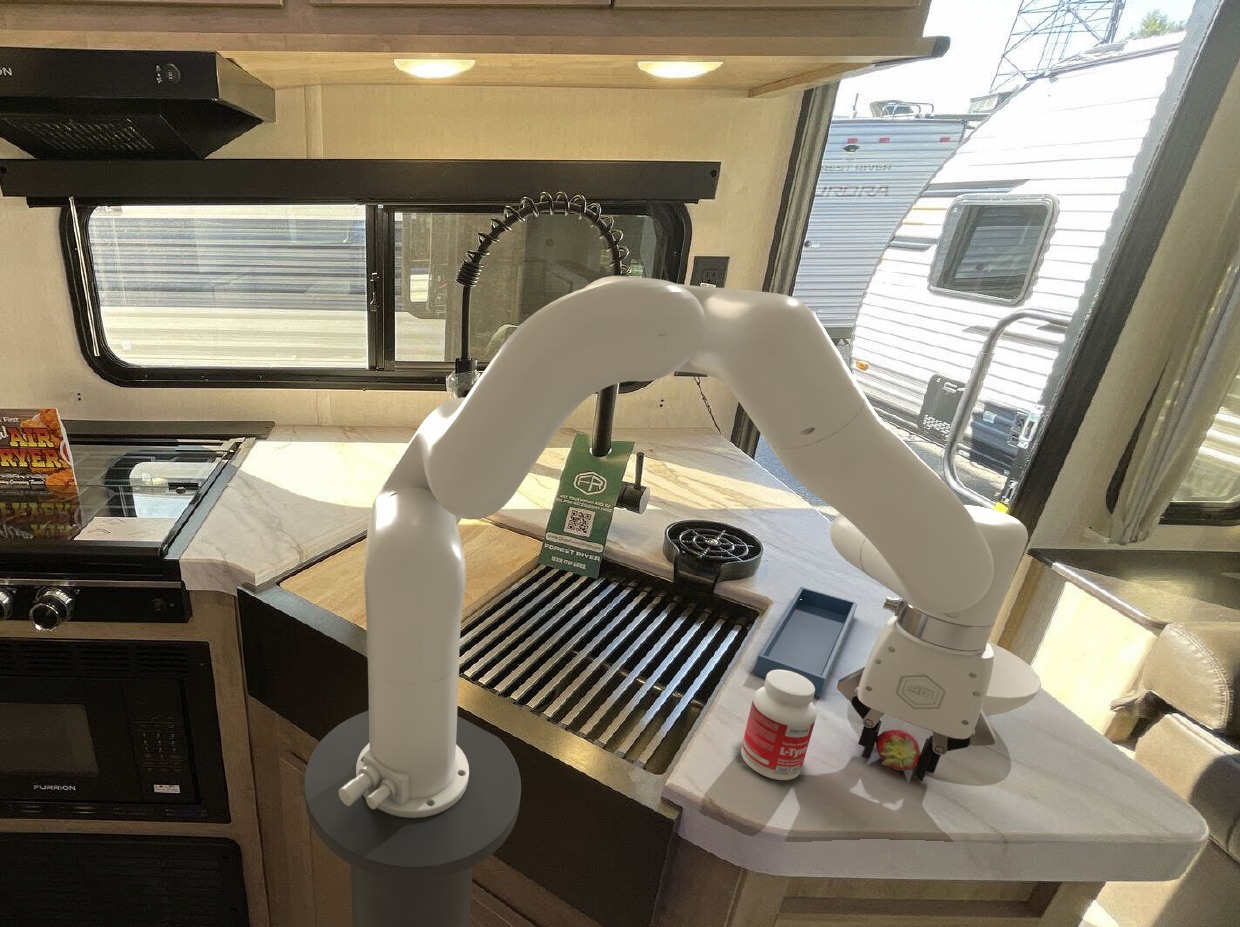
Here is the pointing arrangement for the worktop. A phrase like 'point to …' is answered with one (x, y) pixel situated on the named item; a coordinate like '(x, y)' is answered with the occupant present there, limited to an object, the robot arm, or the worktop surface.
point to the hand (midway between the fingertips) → (893, 760)
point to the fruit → (898, 750)
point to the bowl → (1009, 683)
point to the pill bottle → (780, 725)
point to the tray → (808, 637)
